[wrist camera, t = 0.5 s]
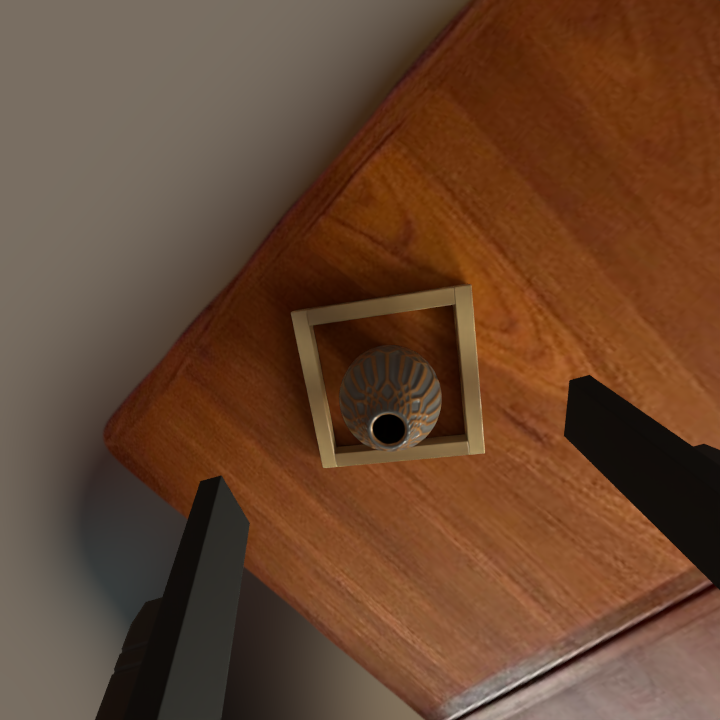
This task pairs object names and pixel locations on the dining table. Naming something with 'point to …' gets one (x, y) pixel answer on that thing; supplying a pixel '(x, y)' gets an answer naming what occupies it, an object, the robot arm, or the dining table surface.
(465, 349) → the oak frame
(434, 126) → the dining table surface
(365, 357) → the vase
